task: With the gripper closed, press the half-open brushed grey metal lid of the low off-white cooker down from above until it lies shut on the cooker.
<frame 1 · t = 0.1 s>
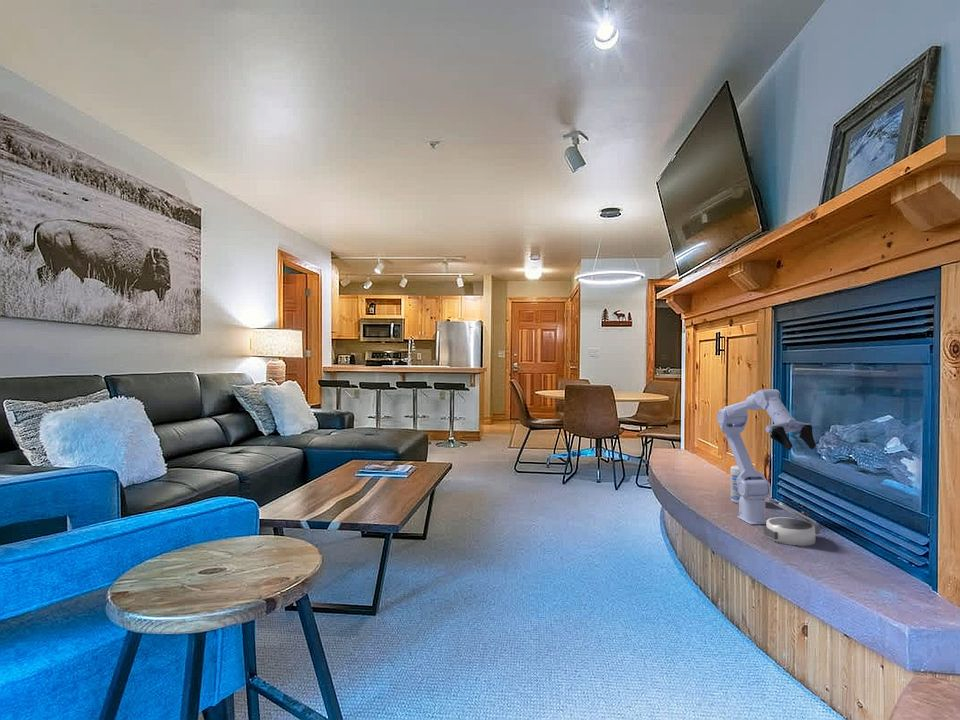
hand: (802, 447, 163), 32 cm above the countertop, tool tilted 50°, fingers open, 7 cm apart
supplement tub: (743, 502, 216), on the countertop
cooker lid: (792, 509, 171), point 10 cm above the countertop, hinge at 30.0°
cooker base: (790, 538, 171), on the countertop
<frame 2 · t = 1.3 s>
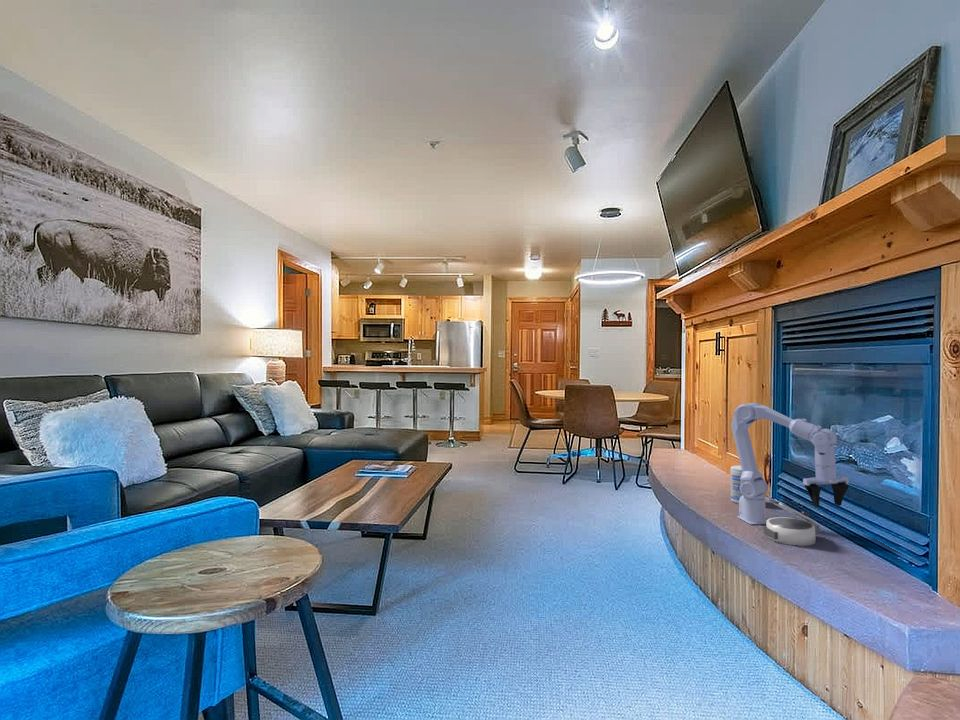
hand: (826, 505, 172), 10 cm above the countertop, tool pointing down, fingers open, 7 cm apart
nothing on the countertop moved.
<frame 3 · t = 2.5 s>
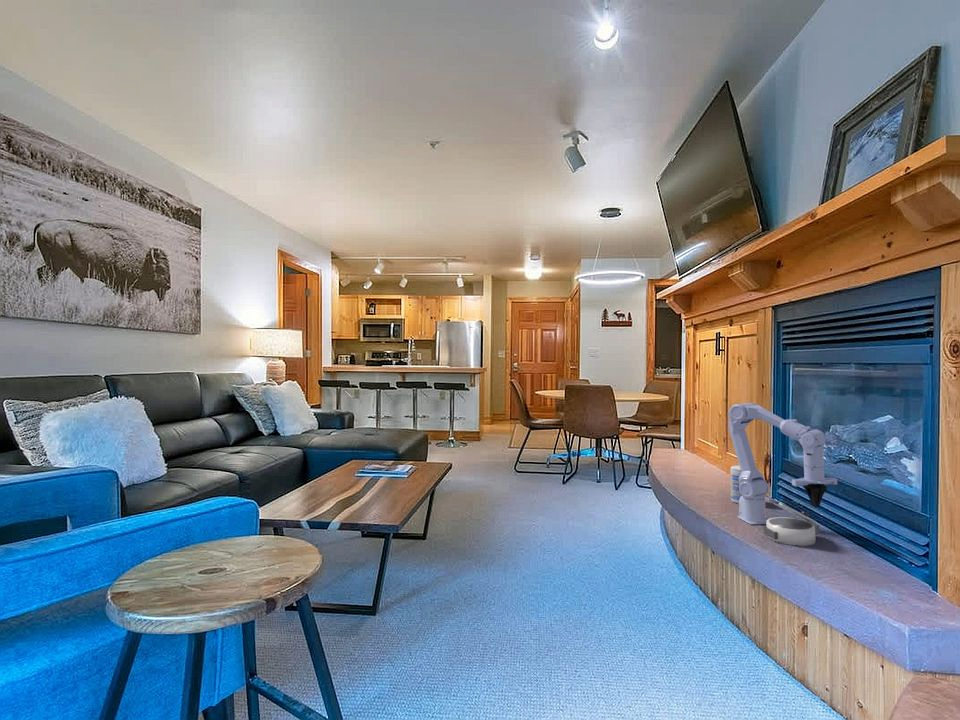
hand: (815, 506, 172), 10 cm above the countertop, tool pointing down, fingers closed
nothing on the countertop moved.
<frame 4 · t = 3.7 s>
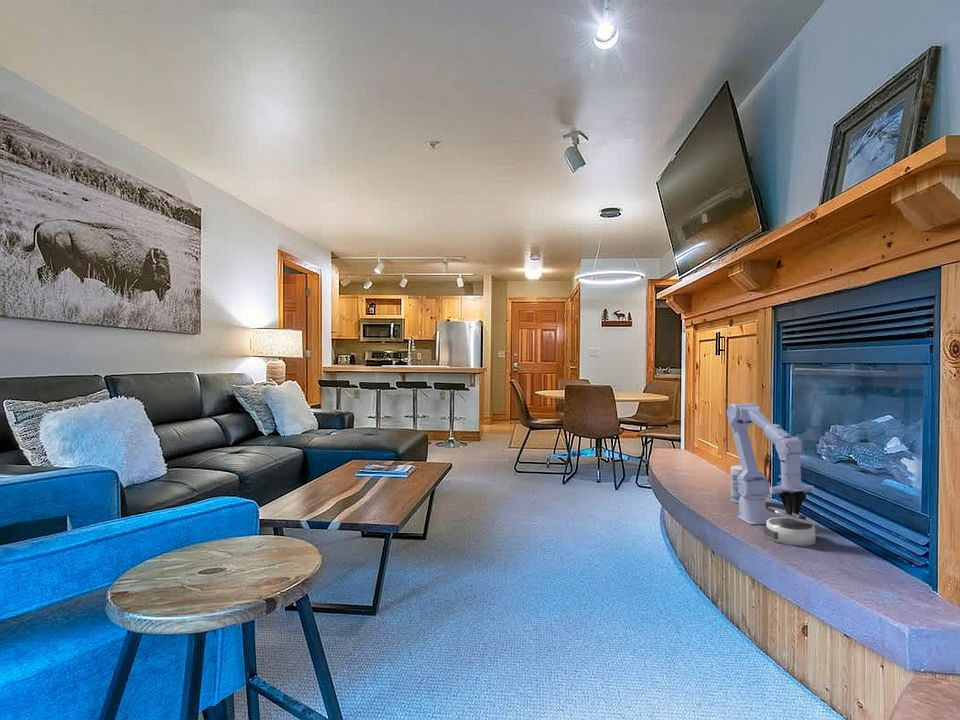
hand: (792, 514, 171), 8 cm above the countertop, tool pointing down, fingers closed
cooker lid: (790, 513, 171), point 8 cm above the countertop, hinge at 17.7°, touching gripper
everything else where it was.
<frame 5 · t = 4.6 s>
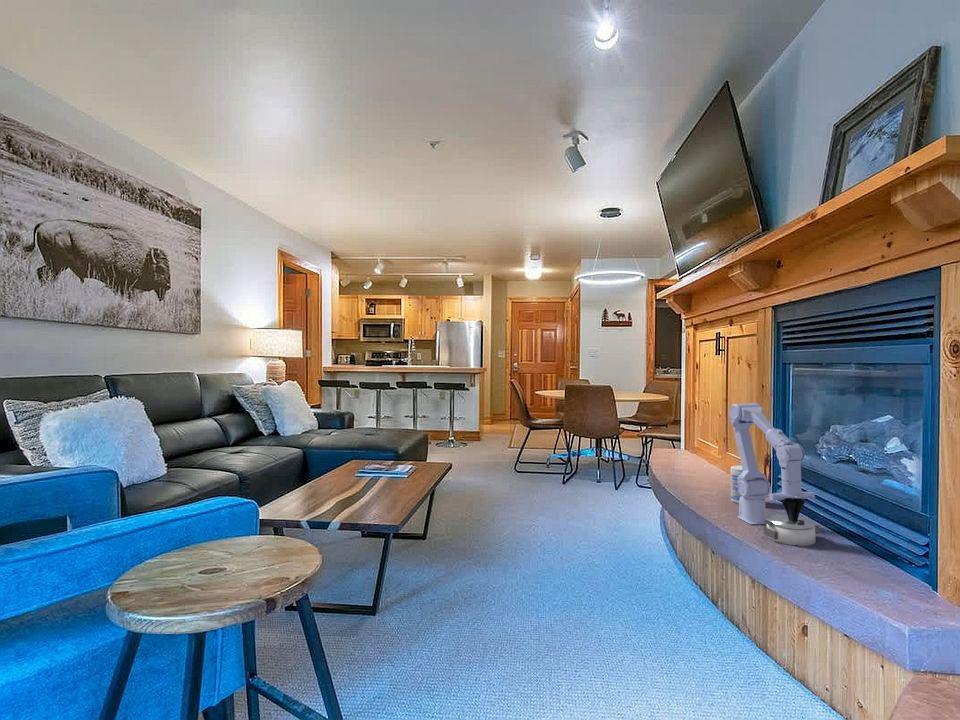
hand: (792, 520, 171), 6 cm above the countertop, tool pointing down, fingers closed, pressing on cooker lid
cooker lid: (788, 520, 171), point 6 cm above the countertop, hinge at 0.5°, touching gripper
everything else where it was.
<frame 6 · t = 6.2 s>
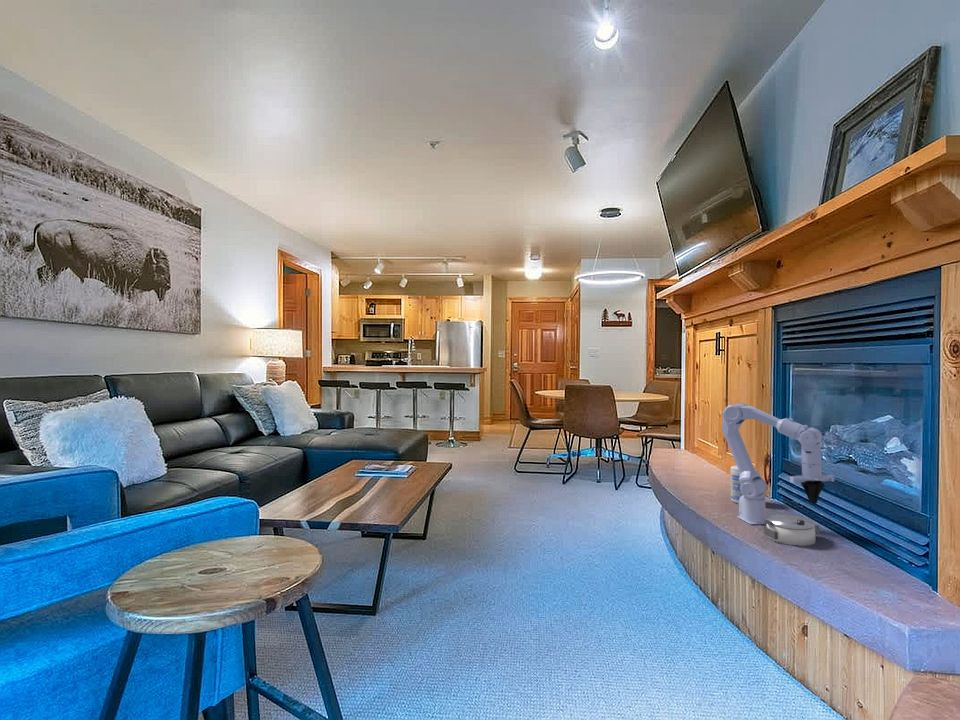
hand: (812, 502, 176), 10 cm above the countertop, tool pointing down, fingers closed
cooker lid: (788, 520, 171), point 6 cm above the countertop, hinge at 0.5°
everything else where it was.
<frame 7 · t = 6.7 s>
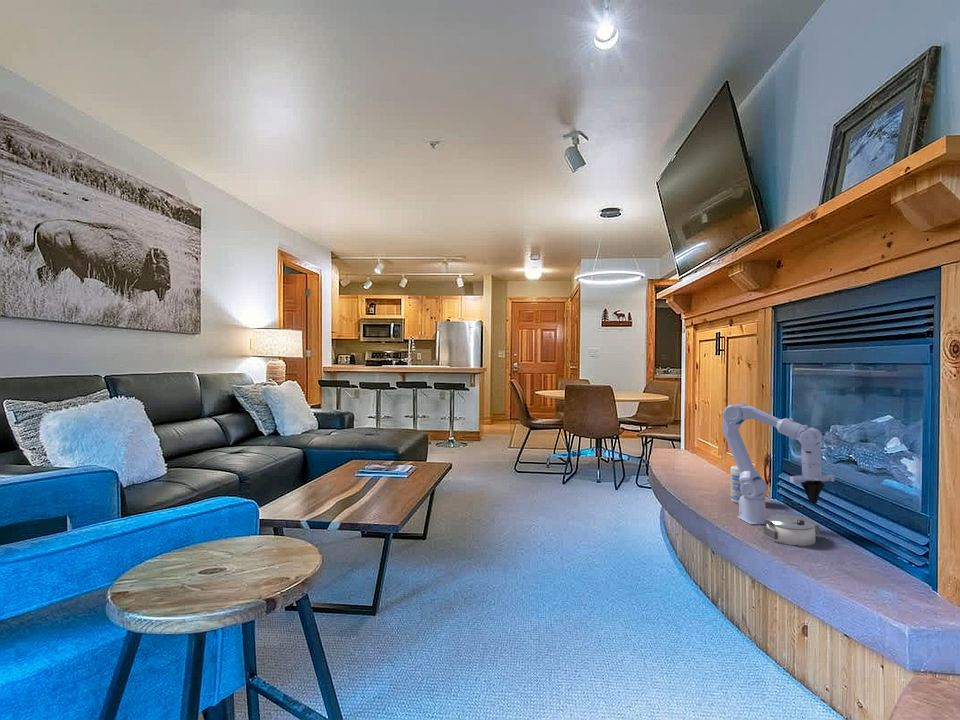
hand: (812, 502, 176), 10 cm above the countertop, tool pointing down, fingers closed
nothing on the countertop moved.
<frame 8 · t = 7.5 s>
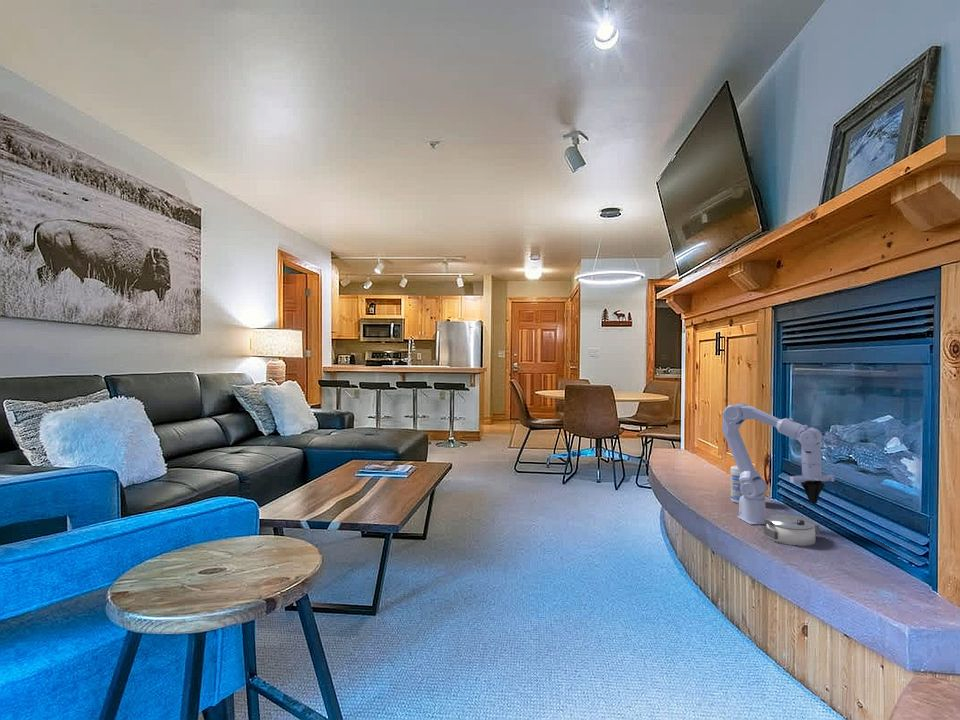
hand: (812, 502, 176), 10 cm above the countertop, tool pointing down, fingers closed
nothing on the countertop moved.
at the end: cooker lid at +0° (first picture: +30°) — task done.
